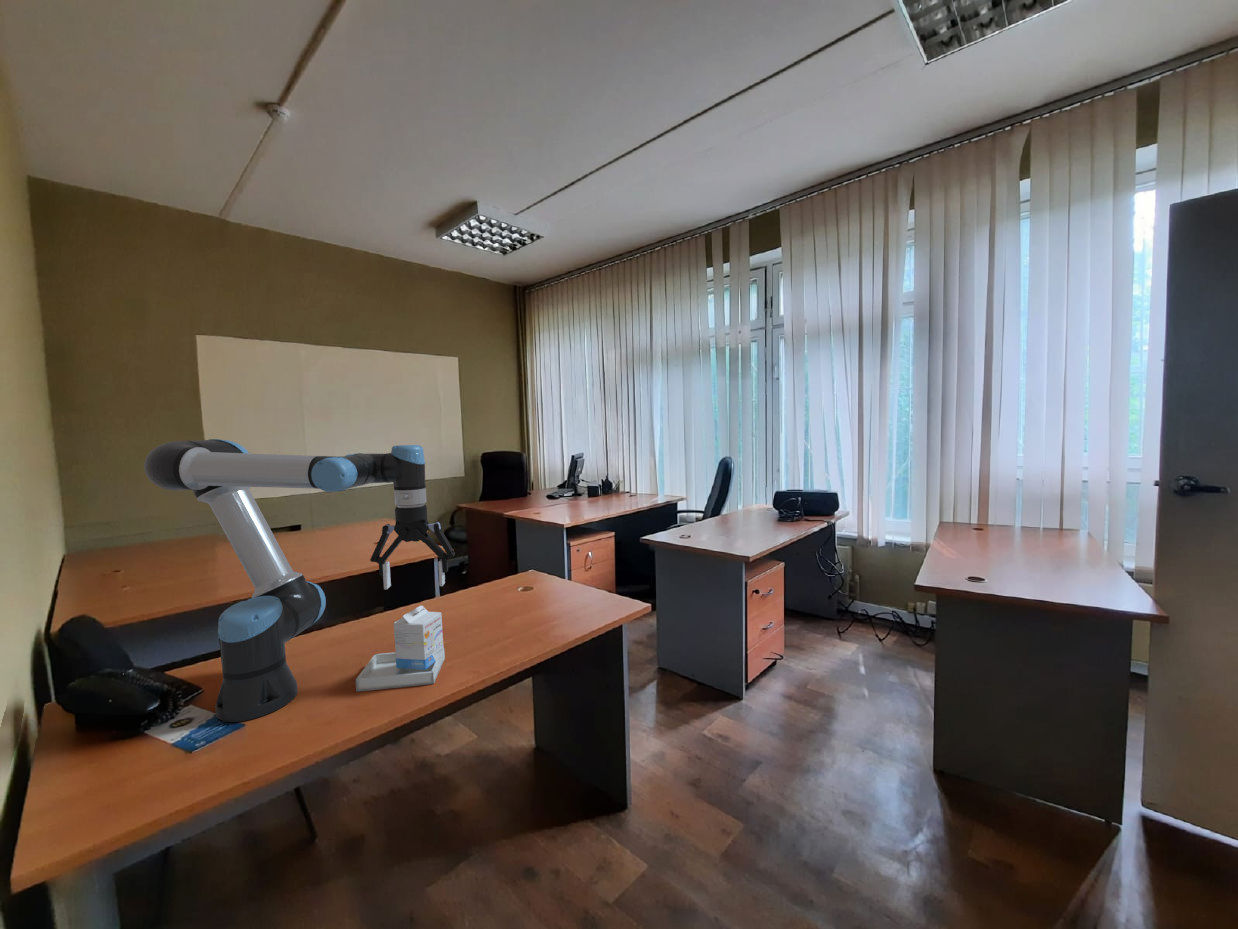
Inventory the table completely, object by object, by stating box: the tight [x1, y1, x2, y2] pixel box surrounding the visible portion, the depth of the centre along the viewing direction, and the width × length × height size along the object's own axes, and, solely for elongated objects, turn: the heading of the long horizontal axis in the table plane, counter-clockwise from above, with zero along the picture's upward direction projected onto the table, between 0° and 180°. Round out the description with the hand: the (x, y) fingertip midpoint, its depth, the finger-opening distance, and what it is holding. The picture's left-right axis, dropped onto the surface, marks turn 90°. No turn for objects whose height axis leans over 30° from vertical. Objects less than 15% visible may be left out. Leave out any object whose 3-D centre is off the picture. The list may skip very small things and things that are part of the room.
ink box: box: [393, 605, 445, 670], centre depth 122 cm, size 9×8×13 cm
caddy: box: [355, 650, 446, 693], centre depth 122 cm, size 18×13×3 cm
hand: (415, 586), depth 123 cm, fingers open, 13 cm apart
